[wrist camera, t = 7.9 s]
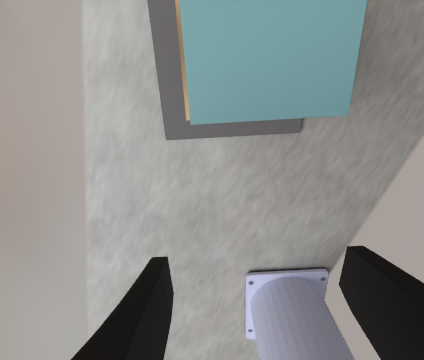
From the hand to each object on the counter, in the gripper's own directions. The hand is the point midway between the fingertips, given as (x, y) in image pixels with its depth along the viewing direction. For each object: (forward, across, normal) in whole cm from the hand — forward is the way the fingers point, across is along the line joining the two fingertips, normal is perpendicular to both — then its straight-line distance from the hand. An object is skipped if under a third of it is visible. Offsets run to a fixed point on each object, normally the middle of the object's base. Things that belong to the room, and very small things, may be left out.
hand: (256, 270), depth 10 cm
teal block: (+4, 0, -8) cm, 9 cm away
